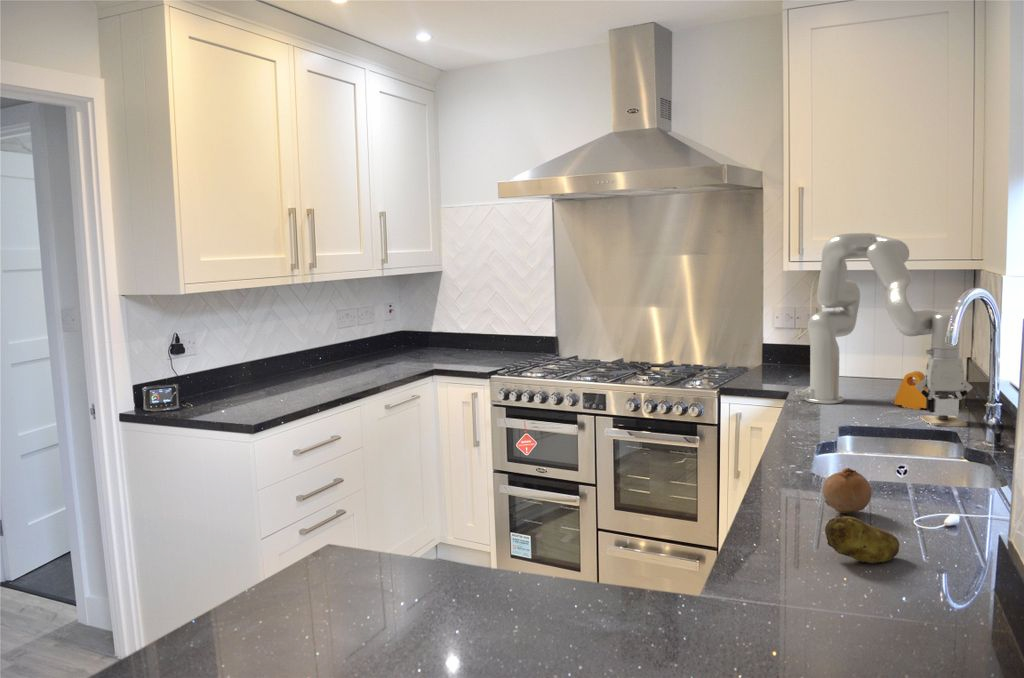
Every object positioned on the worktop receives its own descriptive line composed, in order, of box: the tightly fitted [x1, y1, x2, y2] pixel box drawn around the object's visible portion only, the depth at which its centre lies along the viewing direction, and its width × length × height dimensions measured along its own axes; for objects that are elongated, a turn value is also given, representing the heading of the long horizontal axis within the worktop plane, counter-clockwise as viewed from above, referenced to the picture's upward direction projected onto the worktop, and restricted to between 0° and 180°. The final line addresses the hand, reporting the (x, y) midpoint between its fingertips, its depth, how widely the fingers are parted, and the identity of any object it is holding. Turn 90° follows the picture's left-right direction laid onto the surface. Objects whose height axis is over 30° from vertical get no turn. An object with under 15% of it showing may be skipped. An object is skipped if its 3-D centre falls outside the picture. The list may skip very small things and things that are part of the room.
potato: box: [824, 515, 900, 564], centre depth 143 cm, size 8×13×8 cm, turn 75°
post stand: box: [919, 392, 968, 427], centre depth 242 cm, size 10×10×11 cm
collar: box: [930, 395, 960, 417], centre depth 242 cm, size 6×6×5 cm
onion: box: [822, 467, 873, 514], centre depth 167 cm, size 10×9×10 cm
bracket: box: [893, 370, 928, 410], centre depth 265 cm, size 11×7×12 cm, turn 42°
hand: (943, 411), depth 243 cm, fingers closed on collar, 6 cm apart
